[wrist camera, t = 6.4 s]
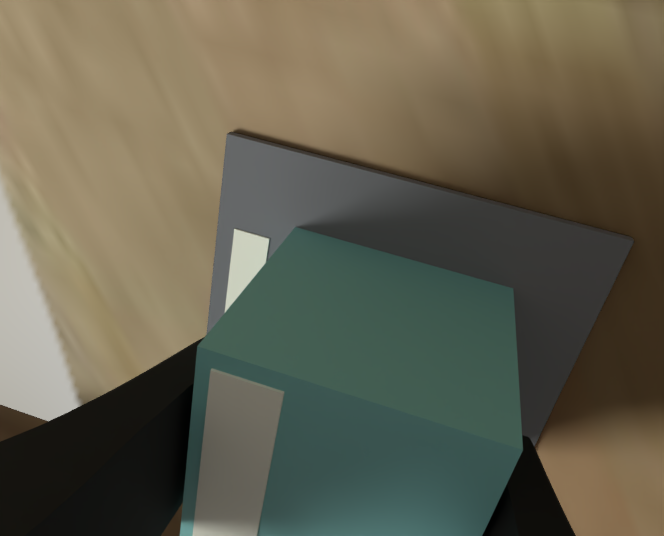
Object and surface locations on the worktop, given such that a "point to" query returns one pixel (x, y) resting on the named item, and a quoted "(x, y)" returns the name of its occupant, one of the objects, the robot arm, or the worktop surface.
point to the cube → (353, 399)
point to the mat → (423, 247)
